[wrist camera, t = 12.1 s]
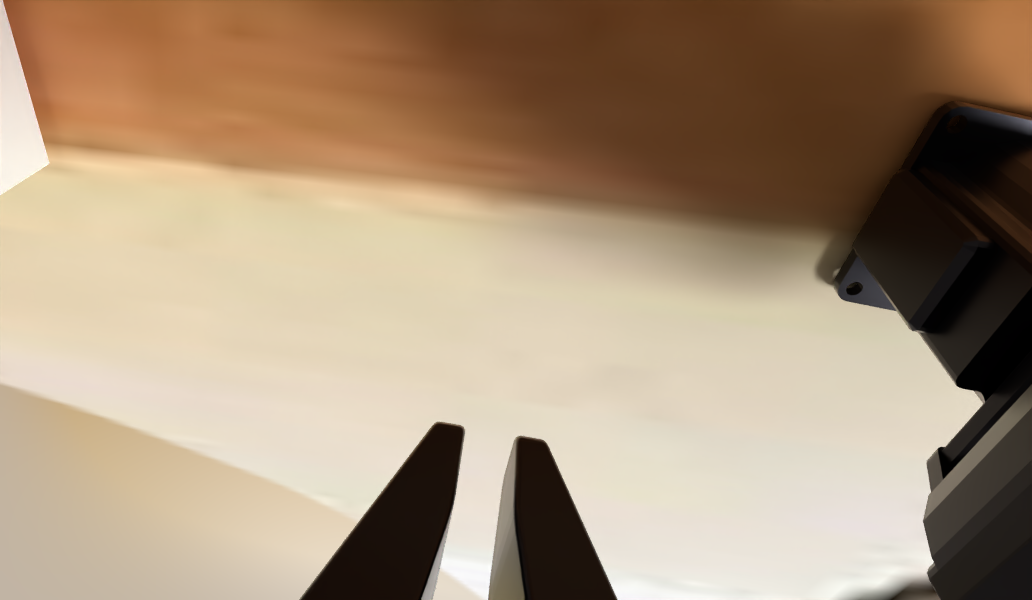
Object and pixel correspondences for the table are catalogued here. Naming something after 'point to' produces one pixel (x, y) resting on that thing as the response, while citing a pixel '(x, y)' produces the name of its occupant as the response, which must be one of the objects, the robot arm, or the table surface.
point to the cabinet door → (16, 116)
